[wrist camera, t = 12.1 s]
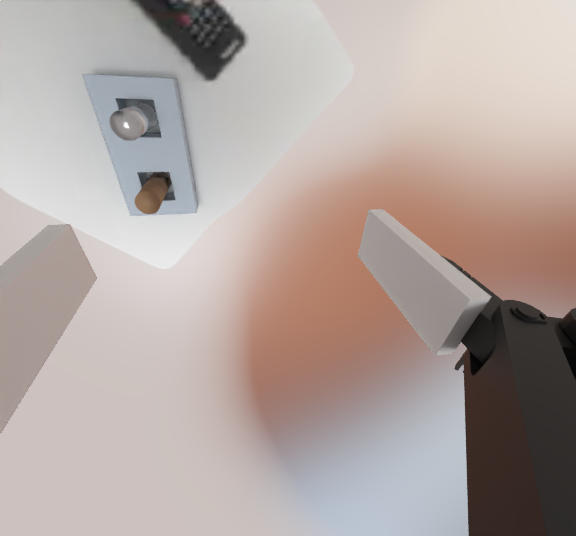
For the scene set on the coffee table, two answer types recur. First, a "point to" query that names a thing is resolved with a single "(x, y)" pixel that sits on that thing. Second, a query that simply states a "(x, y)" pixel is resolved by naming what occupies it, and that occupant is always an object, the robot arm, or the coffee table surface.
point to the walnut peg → (153, 193)
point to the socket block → (146, 139)
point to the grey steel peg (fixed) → (133, 121)
